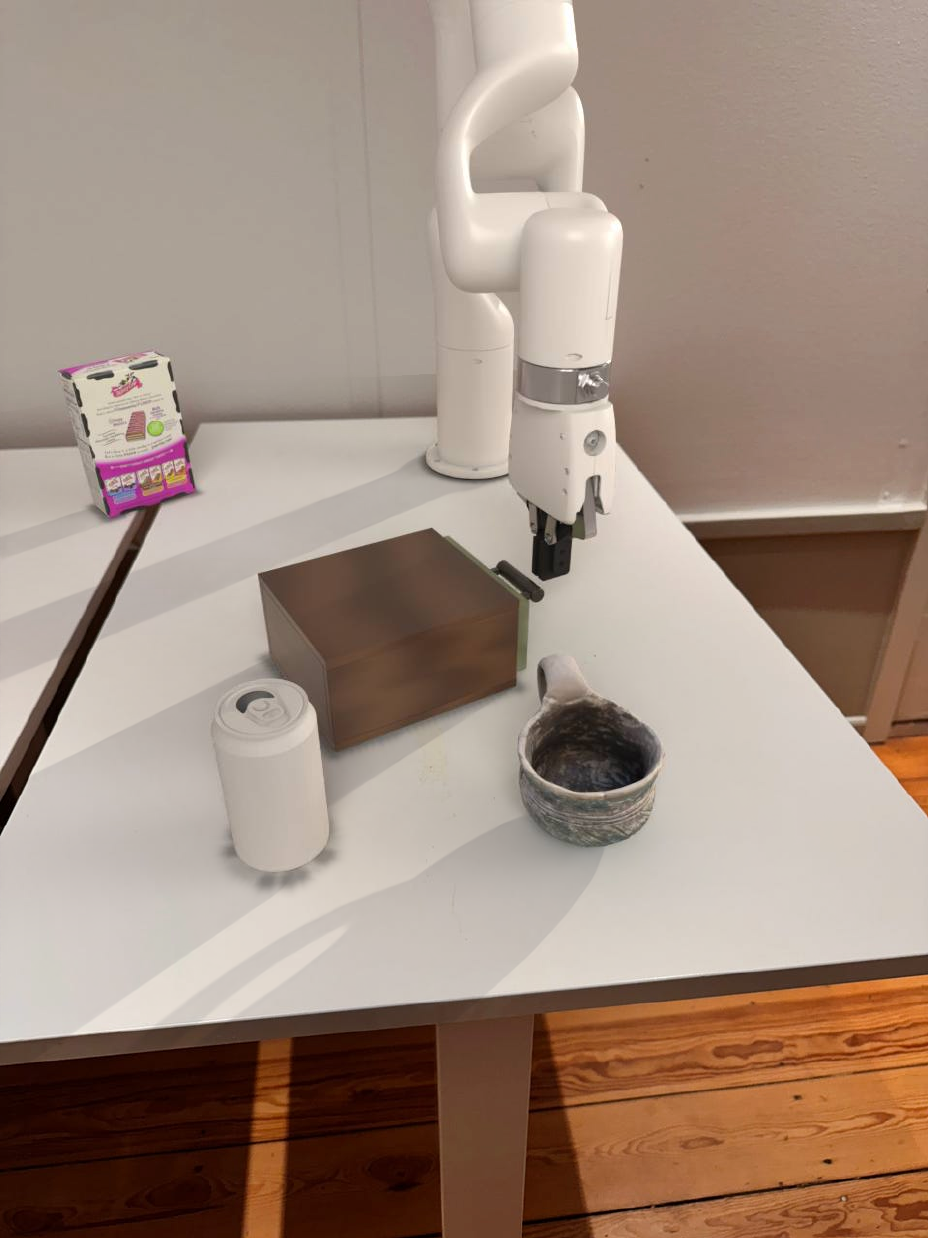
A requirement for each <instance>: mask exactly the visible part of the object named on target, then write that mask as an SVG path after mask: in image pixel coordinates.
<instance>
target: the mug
mask: <svg viewBox="0 0 928 1238" xmlns="http://www.w3.org/2000/svg"><path fill="white" fill-rule="evenodd" d="M536 681H537V689H538V696H539V701H540V707H539V709H538V710H537V711H536V712H535V713H534V714H533V715H532V717H530V718H529V719H528V720H527V722H526V723H525V724H524V725H523V726H522V728H521V730H520V732H519V734H518V738H517V755H518V760H519V763H520V765H519V771H518V785H519V790H520V796H521V801H522V803H523V805H524V808H525V810H526V812H527V813H528V814H529V815H530V817H531V818H532V820H533V821H534V822H535V823H536V824H537V825H538V826H539V827H540V828H541V829H542V830H544V831H545V832H546V833H547V834H549V835H550V836H552V837H553V838H556V839H558V840H560V841H563V842H564V843H569V844H572V845H574V846H579V847H584V848H601V847H607V846H610V845H614V844H618V843H621V842H623V841H625V840H629V839H630V838H631V837H633V836H635V835H636V834H637V833H638V832H639V831H640V830H641V829H642V828H643V827H644V826H645V825H646V823H647V822H648V820H649V819H650V816H651V814H652V811H653V809H654V805H655V801H656V795H657V793H656V787H657V785H656V779H657V778H658V775H659V773H660V771H661V769H662V767H663V765H664V762H665V761H664V758H665V756H666V747H665V744H664V742H663V740H662V738H661V737H660V735H659V733H658V732H657V731H656V730H655V729H654V728H653V727H652V726H651V725H650V724H648V723H646V722H644V721H642V719H641V718H640V717H639V716H638V715H636V714H635V713H634V712H632V710H630V709H629V708H627V707H625V706H624V705H622V704H620V703H619V702H617V701H615V700H612V699H610V698H609V697H606V696H603V695H601V694H599V693H597V692H596V691H595V690H593V689H592V688H591V687H590V686H589V684H588V683H587V682H586V680H585V677H584V675H583V674H582V672H581V670H580V667H579V665H578V663H577V662H576V660H575V659H574V658H573V657H572V656H570V655H568V654H565V653H554V654H549V655H547V656H545V657H542V658H541V659H540V660H539V662H538V663H537V669H536Z"/></svg>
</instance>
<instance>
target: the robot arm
mask: <svg viewBox="0 0 928 1238" xmlns="http://www.w3.org/2000/svg"><path fill="white" fill-rule="evenodd" d="M426 2H427V5H428V10H429V13H430V18H431V22H432V26H433V27H432V28H433V35H434V36H433V38H434V68H435V71H434V72H435V74H434V75H435V114H436V115H435V117H436V119H435V120H436V140H437V141H436V143H437V146H436V152H435V161H434V176H433V178H434V197H435V205H434V206H433V207H432V208H431V210H430V211H429V213H428V215H427V219H426V223H425V243H426V251H427V257H428V262H429V268H430V276H431V283H432V292H433V301H434V302H433V303H434V325H435V327H434V328H435V331H434V333H435V365H436V366H435V375H436V376H435V379H436V427H437V428H436V429H437V431H436V433H437V434H436V435H437V440H436V441H435V442H434V443H432V444H431V445H430V446H429V447H427V449H426V451H425V461H426V464H427V466H428V467H429V468H430V469H432V470H433V471H434V472H437V473H438V474H441V475H444V476H447V477H450V478H455V479H463V480H485V479H494V478H497V477H503V476H505V475H508V480H509V484H510V486H511V487H512V489H513V490H514V491H515V492H516V494H517V496H519V498H520V499H521V500H522V501H523V502H524V504H525V505H526V508H527V510H528V519H529V520H528V521H529V529H530V532H531V533H532V534H533V536H532V550H531V551H532V552H531V573H532V574H533V575H534V576H535V577H537V578H538V580H540V581H542V582H546V581H550V580H554V579H556V578H559V577H563V576H566V575H568V574H570V571H571V560H572V550H573V549H572V547H573V539H577V540H582V541H584V540H588V539H591V538H595V537H597V535H598V528H597V527H598V526H597V514H599V515H602V516H606V515H610V514H611V513H612V511H613V507H614V499H615V490H616V489H615V488H616V471H617V470H616V469H617V468H616V467H617V439H616V438H617V437H616V436H617V435H616V434H617V432H616V423H615V421H616V420H615V411H614V405H613V403H612V402H611V401H610V400H609V394H610V389H611V388H610V384H611V374H612V373H611V372H612V363H613V350H614V340H615V327H616V319H617V310H618V309H617V308H618V300H619V299H618V298H619V297H618V296H619V289H620V288H619V287H620V277H621V269H622V267H621V266H622V258H623V247H624V231H623V226H622V223H621V221H620V220H619V218H618V217H617V216H615V215H614V214H613V213H611V212H609V211H608V209H607V207H606V204H605V203H604V201H603V200H602V199H601V198H599V197H598V196H597V195H594V194H593V193H589V192H585V191H583V180H584V162H585V161H584V159H585V145H586V144H585V143H586V128H585V127H586V125H585V116H584V108H583V105H582V102H581V101H582V100H581V98H580V96H579V93H578V92H577V90H576V89H575V88H574V87H573V86H572V84H573V82H574V80H575V78H576V76H577V72H578V70H579V48H578V41H577V32H576V24H575V15H574V5H573V0H426ZM515 180H516V181H519V180H522V181H524V180H527V181H528V180H530V181H534V182H535V183H536V184H537V185H536V186H537V191H516V192H515V191H514V192H513V191H511V192H489V193H488V192H482V193H476V192H475V191H474V190H473V188H472V182H471V181H515ZM503 293H506V294H507V293H519V300H518V330H517V354H516V380H515V381H516V382H515V383H516V384H515V388H516V389H515V395H514V401H513V391H514V390H513V388H514V387H513V386H514V352H515V325H514V319H513V316H512V315H511V312H510V311H509V309H508V307H507V306H506V305H505V304H504V302H502V300H501V299H500V298H499V297H498V296H497V295H496V294H503ZM596 513H597V514H596Z"/></svg>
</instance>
